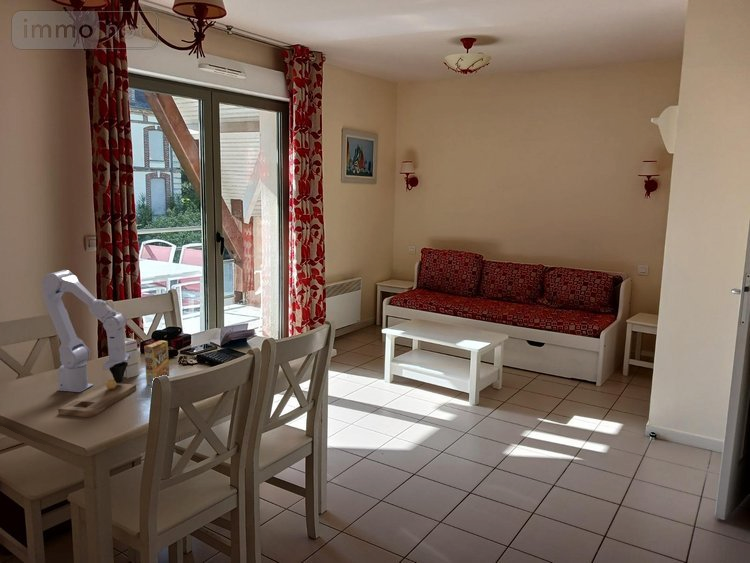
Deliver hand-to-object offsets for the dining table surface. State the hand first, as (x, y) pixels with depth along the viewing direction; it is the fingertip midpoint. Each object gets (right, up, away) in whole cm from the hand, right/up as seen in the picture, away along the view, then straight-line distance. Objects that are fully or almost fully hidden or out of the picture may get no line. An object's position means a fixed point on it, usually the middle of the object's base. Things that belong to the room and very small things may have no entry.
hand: (118, 382), depth 217 cm
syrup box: (-3, 0, +17) cm, 17 cm away
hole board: (-2, -5, -11) cm, 12 cm away
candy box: (+11, -2, +10) cm, 15 cm away
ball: (-1, 0, -5) cm, 5 cm away
